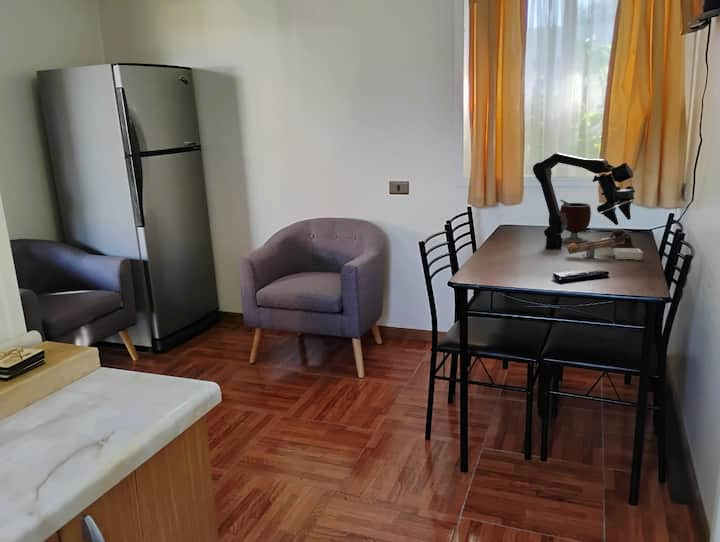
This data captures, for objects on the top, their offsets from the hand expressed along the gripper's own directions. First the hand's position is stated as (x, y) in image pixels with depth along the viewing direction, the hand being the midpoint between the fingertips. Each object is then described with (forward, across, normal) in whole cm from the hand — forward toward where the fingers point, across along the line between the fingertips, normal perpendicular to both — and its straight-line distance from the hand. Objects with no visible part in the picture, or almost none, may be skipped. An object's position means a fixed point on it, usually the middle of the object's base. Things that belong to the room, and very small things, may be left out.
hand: (623, 222), depth 253 cm
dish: (+14, -5, +2) cm, 15 cm away
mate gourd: (0, +12, +37) cm, 39 cm away
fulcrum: (+9, -14, +11) cm, 20 cm away
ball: (+2, -18, +14) cm, 23 cm away
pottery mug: (+10, +17, +17) cm, 26 cm away
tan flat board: (+4, -10, +12) cm, 17 cm away
